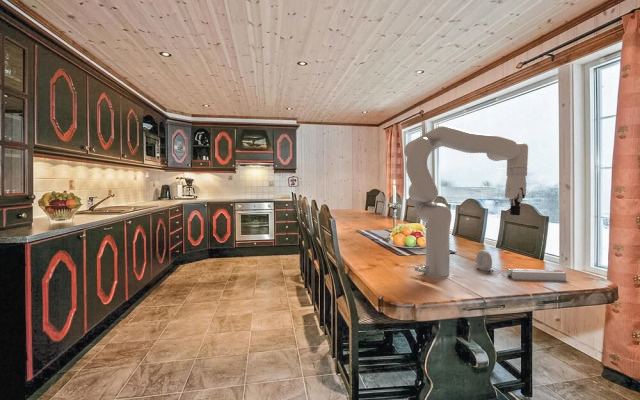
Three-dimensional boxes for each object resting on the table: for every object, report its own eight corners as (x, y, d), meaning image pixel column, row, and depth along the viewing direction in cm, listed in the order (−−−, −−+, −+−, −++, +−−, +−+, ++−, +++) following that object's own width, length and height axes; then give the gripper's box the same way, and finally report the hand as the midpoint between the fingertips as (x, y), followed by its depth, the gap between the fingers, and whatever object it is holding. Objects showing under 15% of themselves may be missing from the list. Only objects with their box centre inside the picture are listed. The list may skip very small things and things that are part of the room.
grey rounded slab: (493, 274, 137) (493, 252, 137) (485, 274, 137) (485, 252, 137) (482, 268, 147) (482, 247, 147) (474, 269, 147) (474, 247, 147)
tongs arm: (508, 277, 128) (508, 269, 128) (506, 275, 130) (506, 268, 130) (563, 278, 125) (563, 271, 125) (560, 277, 127) (560, 269, 127)
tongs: (511, 283, 124) (511, 273, 124) (499, 275, 136) (499, 265, 136) (570, 285, 121) (570, 274, 121) (552, 276, 133) (553, 266, 133)
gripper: (500, 173, 144) (499, 213, 145) (514, 171, 129) (512, 216, 130) (518, 173, 143) (517, 214, 143) (534, 171, 128) (532, 216, 129)
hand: (514, 214), depth 137 cm, fingers closed
